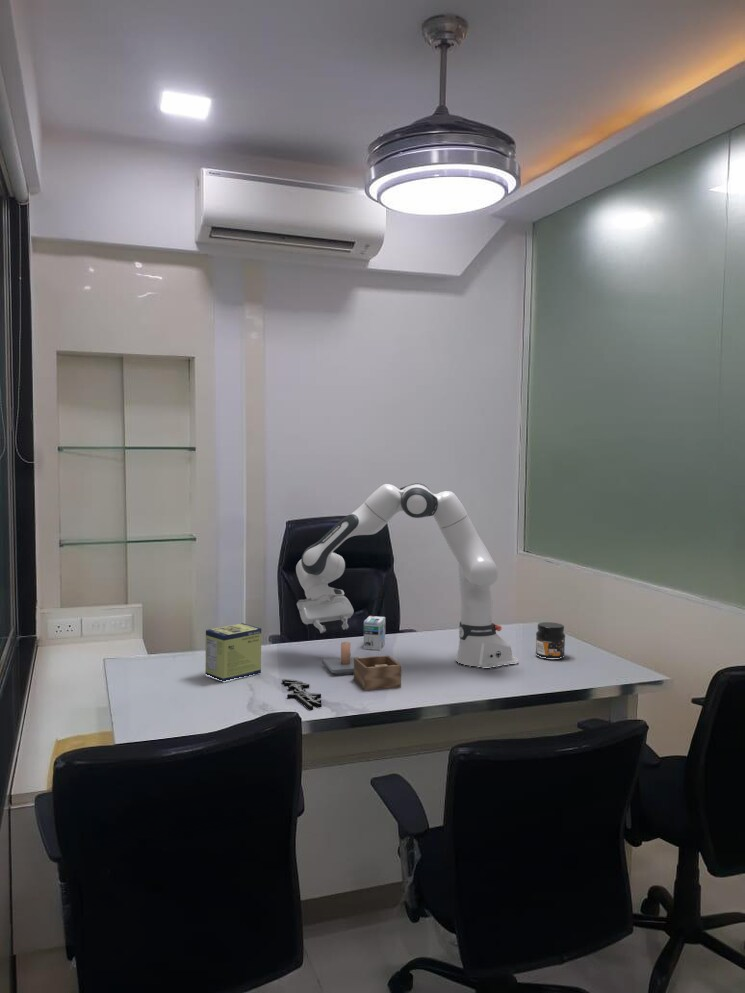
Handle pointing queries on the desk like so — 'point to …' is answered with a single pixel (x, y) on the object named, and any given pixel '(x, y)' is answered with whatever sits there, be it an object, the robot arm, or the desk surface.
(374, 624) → the light bulb box
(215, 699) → the desk surface
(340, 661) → the lid
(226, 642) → the protein box
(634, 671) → the desk surface
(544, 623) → the supplement container
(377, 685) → the box
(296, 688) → the nameplate
